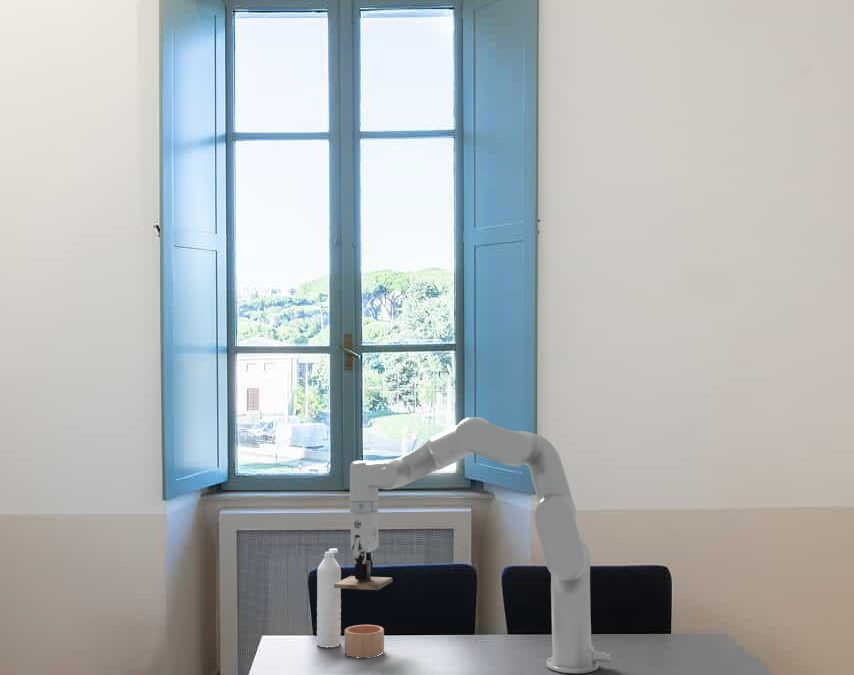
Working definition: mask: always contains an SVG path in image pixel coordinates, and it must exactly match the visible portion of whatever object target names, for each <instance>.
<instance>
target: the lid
mask: <svg viewBox="0 0 854 675" xmlns="http://www.w3.org/2000/svg"><path fill="white" fill-rule="evenodd" d="M366 564H367V579H366V580H359V579H355V575H350V576H348V577H346V578H343V579H341V581H339V582H337V583H335V584H334V588H341V589H346V590H348V589H349V590H367V591H369V590H370V591H374V590H375V591H378V590H381V589H383V588H384V587H385V586H387V585H390V584H391V583H393V577H387V576H386V577H385V576H383V577H382V576H371V561H368V560H366Z"/></svg>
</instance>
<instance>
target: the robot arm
mask: <svg viewBox="0 0 854 675" xmlns="http://www.w3.org/2000/svg"><path fill="white" fill-rule="evenodd" d="M474 454H475V455H477V456H480V457H482V458H486V459H489V460H492V461H495V462H498V463H500V464H503V465H506V466H509V467H511V466H512V467H521V466H523V465H525V466H526V467H527V468H528V471H529V473H530V478H531V481H532V482H531V483H532V485H533V489H534V492H535V497H536V501H537V504H536V506H535V510H534V515H533V517H534V524H535V528H536V531H537V535H538V539H539V543H540V547H541V551H542V553H543V554H542V555H543V559H544V561H545V566H546V567H547V570H548V571H549V573H550V578H551V580H550V596H551V598H550V599H551V600H550V602H551V605H550V606H551V641H552V642H551V643H552V644H551V646H552V651H551V652H552V656H551V657H550V656H549V657H548V658H547V659H546V660H545V661H546V662H545V663H546V667H547V668H548V669H550V670H551V671H555V672H558V673H564V674H586V673H592V672H595V671H596V670H598V669H599V662H601V663H608V664H609V663H611V653H606V652H605V651H603V652H601V651H600V652H599V651H596V650H595V649H594V645H592V625H591V556H590V550H589V548H588V545H587V543H586V542H585V541H584V539H582V538H581V537H580V534H579V530H578V527H577V521H576V518H577V509H576V506H575V503H574V500H573V496H572V494H571V489H570V486H569V482H568V479H567V476H566V473H565V470H564V467H563V466H564V465H563V463H562V460H561V457H560V455H559V453H558V450H557V449H556V448H555V446H554V445H553V444H552V443H551V442H550V441H549V440H548V439H547V438H546V437H543V436H542V435H539V434H537V433H534V432H530V431H525V430H518V431H517V430H516V431H515V430H511V429H509V428H505V427H502V426H499V425H495V424H492V423H491V422H490V421H488V420H487V419H485V418H483V417H478V416H476V417H475V416H471V417H466V418H464V419H463V420H461V421H460V422H459V423H458V424H457V425H455V426H454V427H451V428H449V429H447V430H444V431H442V432H441V433H439V434H436V435H434V436H431V437H430V438H428V440H426V442H425V443H424V444H423V445H421V446H420V447H418V448H417V449H415V450H413V451H410V452H408V453H406V454H404V455H402V456H400V457H398V458H393V459H388V460H383V461H382V460H381V461H374V460H354V461H352V462H351V463H350V465H349V514H351V524H350V549H351V551H352V557H354V576H355V579H359V580H366V579H367V564H366V560H368V561H371V577H373V560H374V559H373V558H374V556H373V555H374V551H375V550H377V548H379V546H380V540H379V536H380V535H379V520H378V514H379V489H380V490H381V489H382V490H393V489H396V488H400V487H403V486H406V485H408V484H410V483H411V484H412V483H413V482H416V481H417V480H419V479H421V478H423V477H425V476H428V475H429V474H431V473H434V472H436V471H440V470H443V469H444V468H446V467H448V466H451V465H452V464H455V463H457V462H458V461H461V460H463V459H466V458H467V457H470V456H472V455H474Z"/></svg>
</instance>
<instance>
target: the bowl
mask: <svg viewBox="0 0 854 675" xmlns="http://www.w3.org/2000/svg"><path fill="white" fill-rule="evenodd" d="M384 650H385V629H384V628H383V627H382V626H380V625H376V624H375V625H374V624H359V625H358V624H357V625H353V626H348V627H346V628H345V629H344V654H345V653H346V654H347V655H348V656H351V657H350V658H352V657H359V658H358V659H368V658H367V657H373V656H377V655H379V654H381V653H382V652H383V653H384ZM348 656H347V657H348ZM377 657H378V656H377ZM373 658H374V657H373Z"/></svg>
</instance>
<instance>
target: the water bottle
mask: <svg viewBox="0 0 854 675" xmlns="http://www.w3.org/2000/svg"><path fill="white" fill-rule="evenodd" d="M338 553H339V549H338V548H329V549H328V551H325V552H324V558H323V559H322V561H321V562H320V564H319V565H318V568H317V569H316V570H317V571H316V577H317V582H316V583H317V584H316V587H317V588H316V592H317V593H316V594H317V595H316V597H317V598H316V600H317V601H316V606H317V607H316V614H317V616H316V628H317V629H316V635H317V636H316V645H317V644H318V645H320V646H334V645H337V644H339V643H340V642H341V643H342V635H341V633H342V628H341V627H342V626H341V625H342V620H341V618H342V615H341V613H342V607H341V606H342V598H341V596H342V594H341V593H342V591H341V589H342V588H334V584H335V583H337V582H339V581H341V580H342V569H341V567H340V565H339V563H338V562H337V560H336V558H335V557H334V556H335V554H338Z"/></svg>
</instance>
